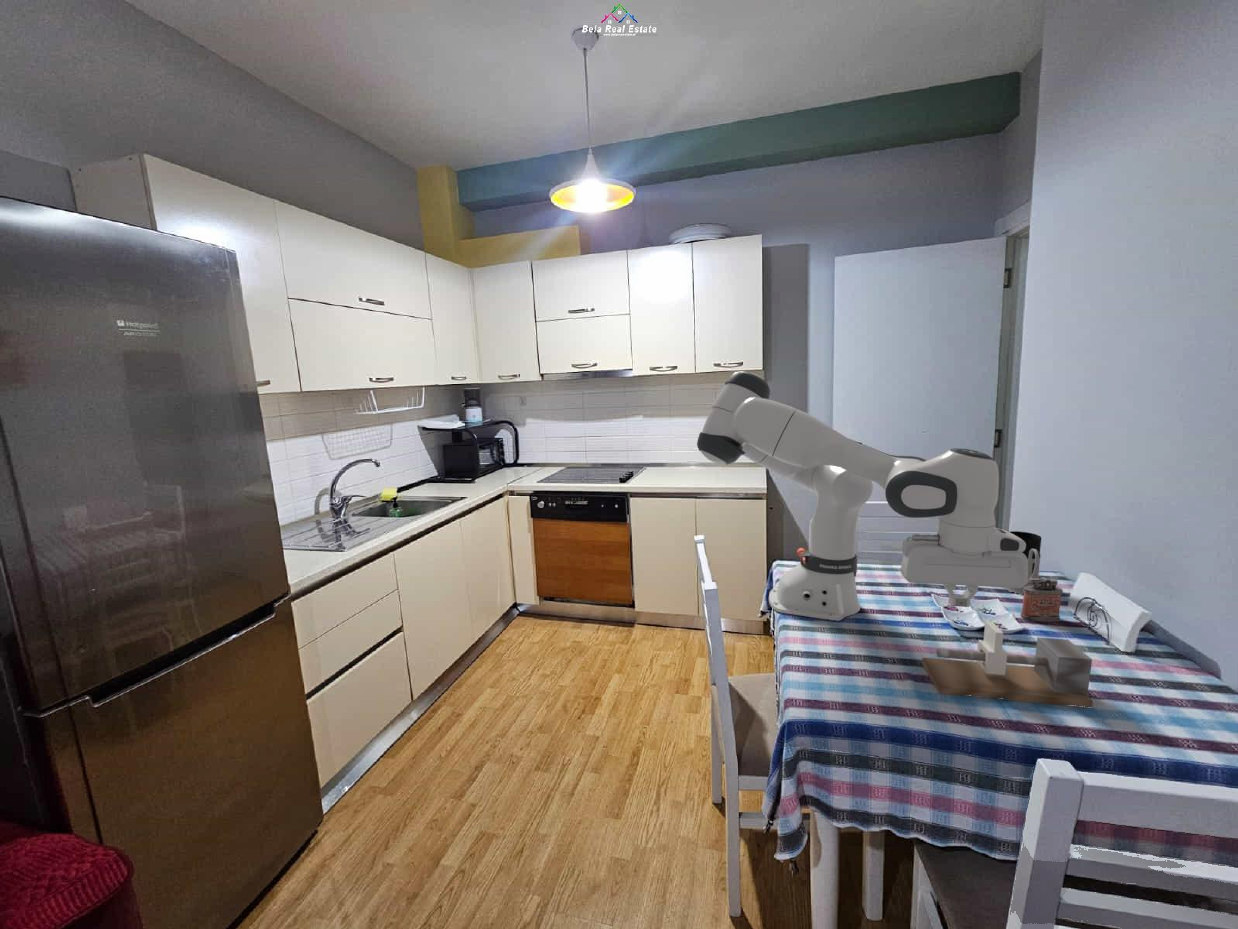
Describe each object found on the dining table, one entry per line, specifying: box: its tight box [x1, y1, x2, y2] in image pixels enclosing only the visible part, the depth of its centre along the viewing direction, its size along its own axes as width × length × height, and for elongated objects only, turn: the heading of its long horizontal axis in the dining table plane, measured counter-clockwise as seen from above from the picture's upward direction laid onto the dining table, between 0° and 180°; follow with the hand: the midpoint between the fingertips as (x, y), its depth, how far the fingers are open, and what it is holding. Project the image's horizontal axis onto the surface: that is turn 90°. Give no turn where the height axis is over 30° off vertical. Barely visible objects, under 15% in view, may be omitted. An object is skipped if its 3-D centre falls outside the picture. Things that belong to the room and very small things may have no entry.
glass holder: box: [1000, 530, 1042, 594], centre depth 135 cm, size 9×14×15 cm, turn 160°
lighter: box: [1020, 576, 1064, 622], centre depth 122 cm, size 8×3×10 cm, turn 84°
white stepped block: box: [976, 621, 1008, 675], centre depth 97 cm, size 3×4×8 cm
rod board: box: [921, 637, 1094, 708], centre depth 97 cm, size 24×10×8 cm, turn 76°
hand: (958, 605), depth 97 cm, fingers closed
